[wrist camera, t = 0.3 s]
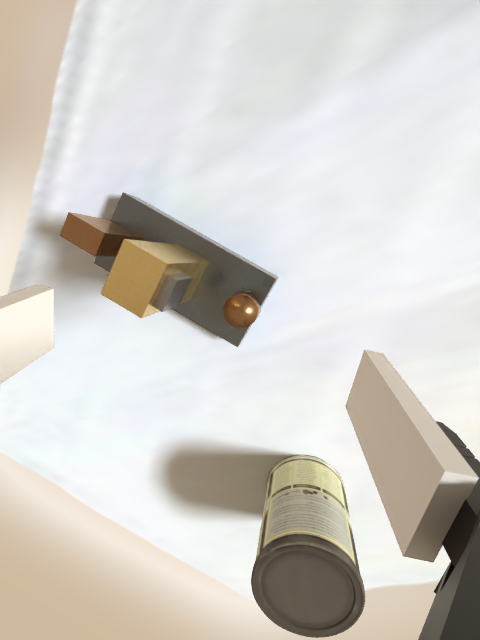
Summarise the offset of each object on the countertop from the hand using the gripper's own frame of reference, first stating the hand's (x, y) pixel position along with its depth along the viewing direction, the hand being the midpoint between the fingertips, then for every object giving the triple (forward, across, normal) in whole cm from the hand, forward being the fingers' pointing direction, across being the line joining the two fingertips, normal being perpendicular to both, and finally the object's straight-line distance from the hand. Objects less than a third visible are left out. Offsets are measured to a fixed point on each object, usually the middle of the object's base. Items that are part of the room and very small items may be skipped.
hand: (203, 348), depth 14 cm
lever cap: (+25, -6, -3) cm, 26 cm away
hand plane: (+28, -6, -3) cm, 29 cm away
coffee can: (+23, +14, -28) cm, 39 cm away
